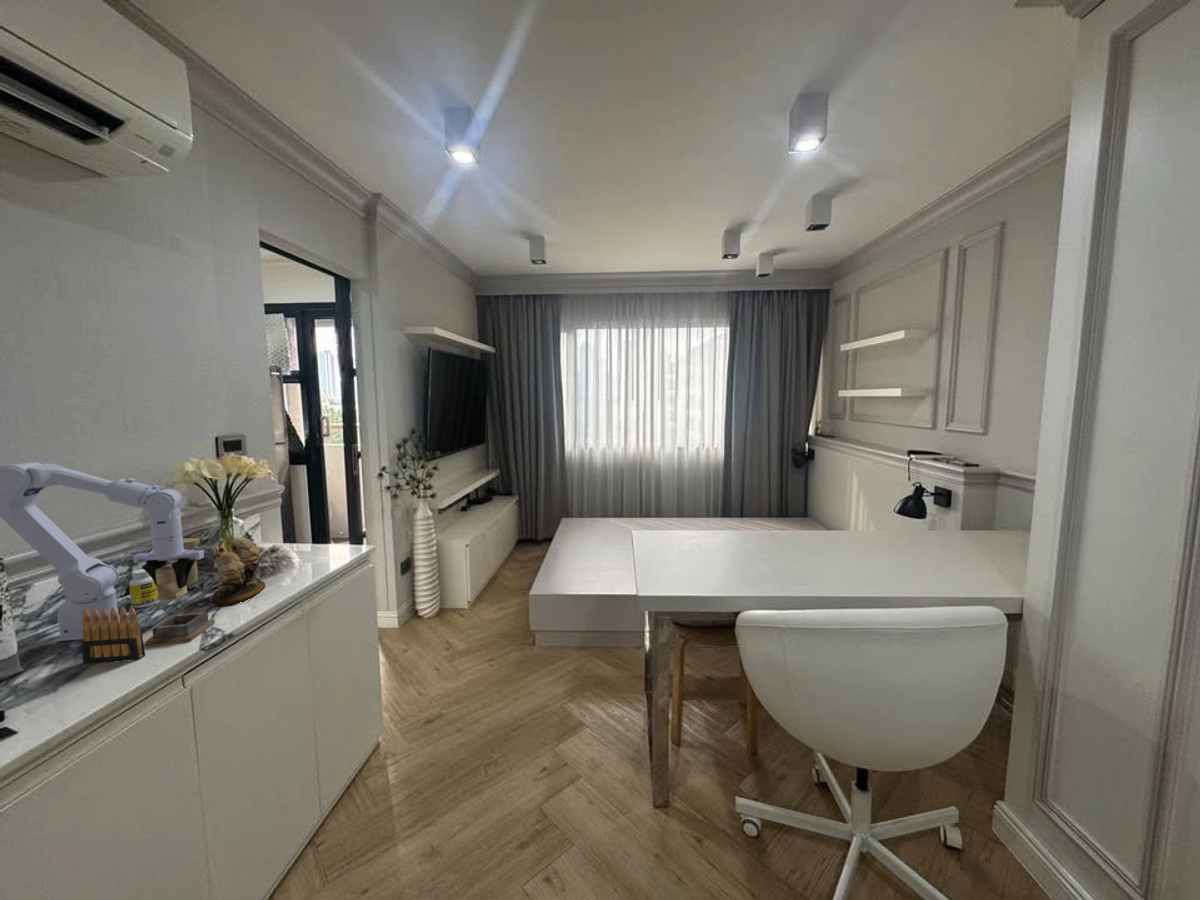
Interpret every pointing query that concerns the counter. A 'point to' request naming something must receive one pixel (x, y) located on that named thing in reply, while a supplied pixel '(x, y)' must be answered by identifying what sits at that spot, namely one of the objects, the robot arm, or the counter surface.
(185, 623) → the socket
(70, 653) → the counter surface
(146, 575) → the supplement bottle
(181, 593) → the square peg
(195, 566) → the handle
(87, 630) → the ammunition clip
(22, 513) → the robot arm
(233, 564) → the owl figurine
